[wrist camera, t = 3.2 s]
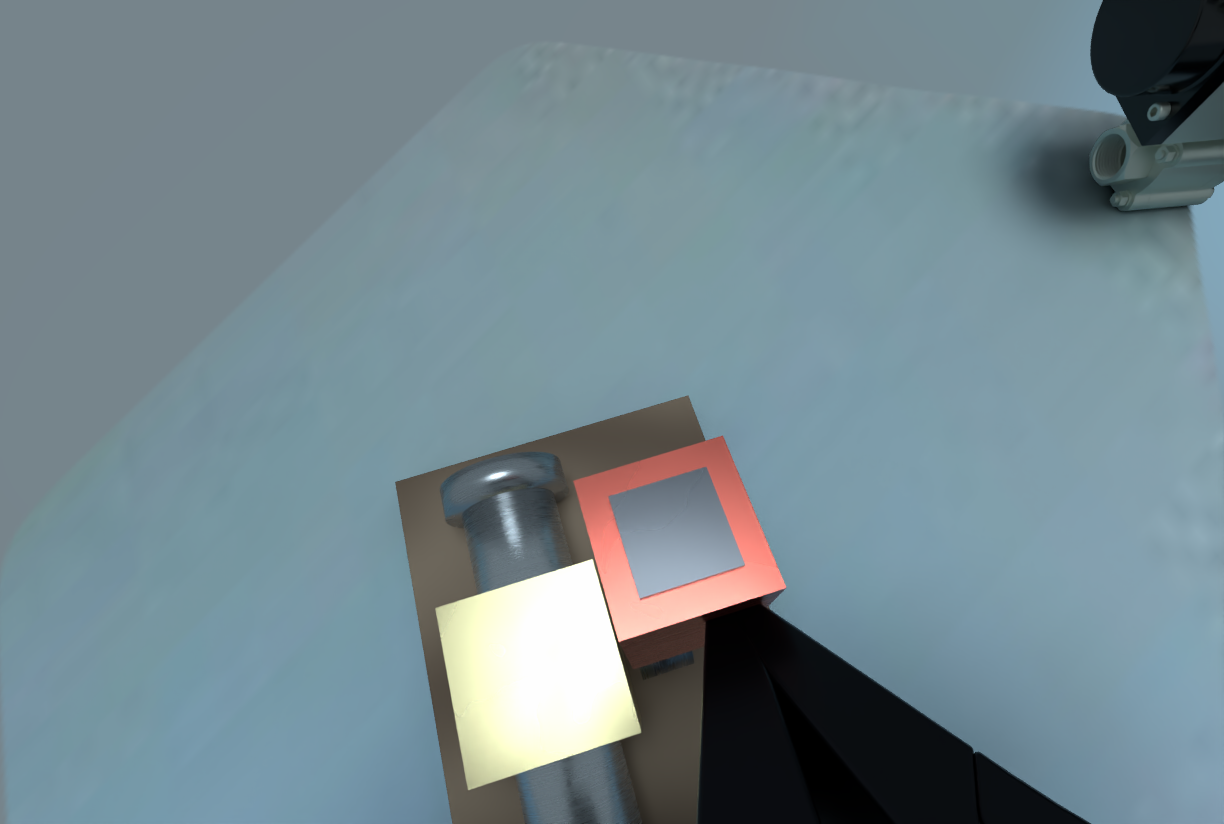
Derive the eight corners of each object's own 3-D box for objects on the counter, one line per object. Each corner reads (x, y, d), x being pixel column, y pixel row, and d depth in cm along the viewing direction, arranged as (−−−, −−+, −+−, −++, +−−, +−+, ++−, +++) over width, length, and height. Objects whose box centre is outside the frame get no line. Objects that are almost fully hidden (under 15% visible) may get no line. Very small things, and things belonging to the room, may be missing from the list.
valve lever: (716, 658, 17) (787, 586, 8) (640, 683, 17) (617, 640, 7) (689, 581, 18) (723, 432, 9) (617, 604, 18) (571, 478, 8)
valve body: (693, 899, 17) (708, 970, 13) (543, 952, 17) (513, 1041, 13) (572, 475, 22) (557, 434, 18) (453, 511, 22) (412, 477, 18)
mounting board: (869, 894, 18) (884, 910, 17) (501, 1028, 17) (491, 1053, 16) (685, 407, 24) (688, 395, 23) (407, 490, 23) (395, 482, 22)
